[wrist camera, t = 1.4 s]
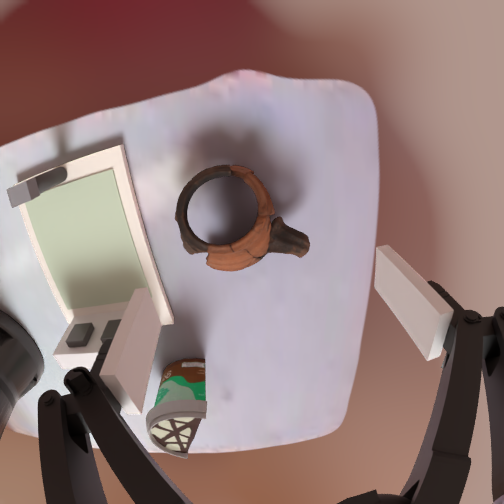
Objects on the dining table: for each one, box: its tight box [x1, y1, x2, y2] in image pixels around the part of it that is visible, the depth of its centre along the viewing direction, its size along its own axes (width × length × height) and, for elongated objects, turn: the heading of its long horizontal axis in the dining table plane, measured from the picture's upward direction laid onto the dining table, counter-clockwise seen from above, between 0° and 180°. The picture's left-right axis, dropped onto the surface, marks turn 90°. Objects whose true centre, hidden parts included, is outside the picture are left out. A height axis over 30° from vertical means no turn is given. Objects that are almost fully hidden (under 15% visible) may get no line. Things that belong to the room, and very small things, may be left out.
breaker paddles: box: [65, 319, 122, 347], centre depth 27 cm, size 7×1×3 cm, turn 99°
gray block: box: [7, 167, 67, 208], centre depth 21 cm, size 2×2×8 cm
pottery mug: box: [175, 165, 310, 271], centre depth 27 cm, size 12×10×8 cm
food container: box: [146, 358, 207, 458], centre depth 33 cm, size 12×6×10 cm, turn 161°
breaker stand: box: [13, 144, 174, 369], centre depth 26 cm, size 14×20×8 cm
